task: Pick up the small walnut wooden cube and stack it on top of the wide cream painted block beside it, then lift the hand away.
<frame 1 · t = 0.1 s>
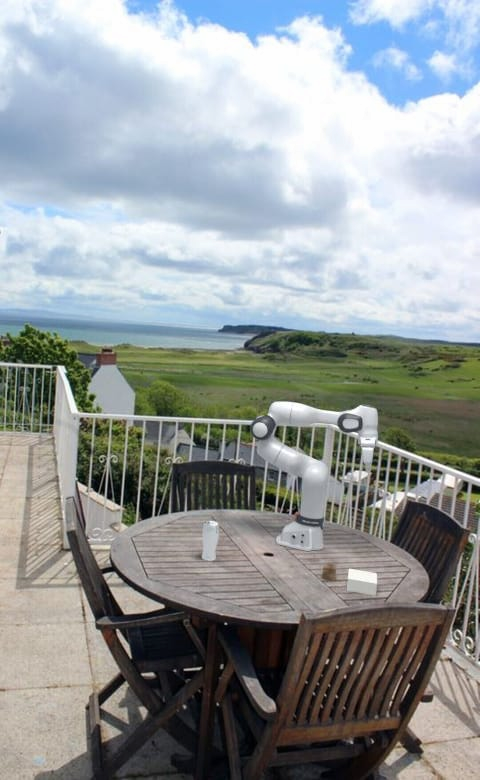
hand: (367, 470, 258), 39 cm above the table, fingers open, 8 cm apart
walnut cube: (328, 578, 228), on the table
base block: (361, 588, 222), on the table
white cylinder: (208, 558, 237), on the table
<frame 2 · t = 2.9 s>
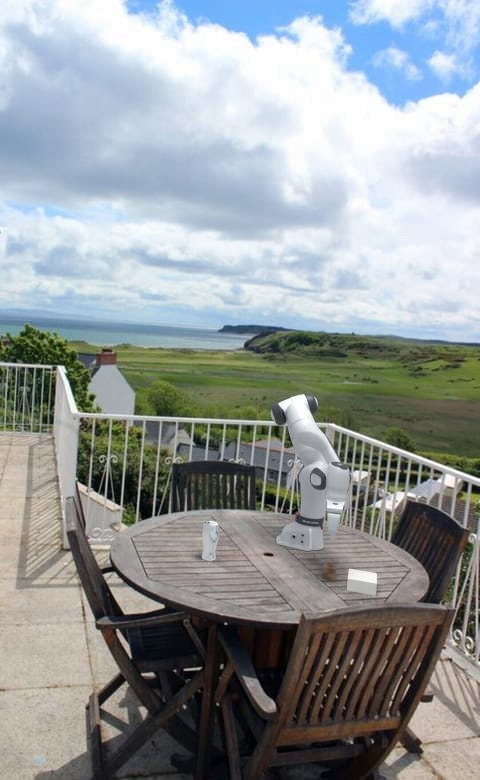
hand: (332, 537, 227), 17 cm above the table, fingers open, 8 cm apart
nothing on the table moved.
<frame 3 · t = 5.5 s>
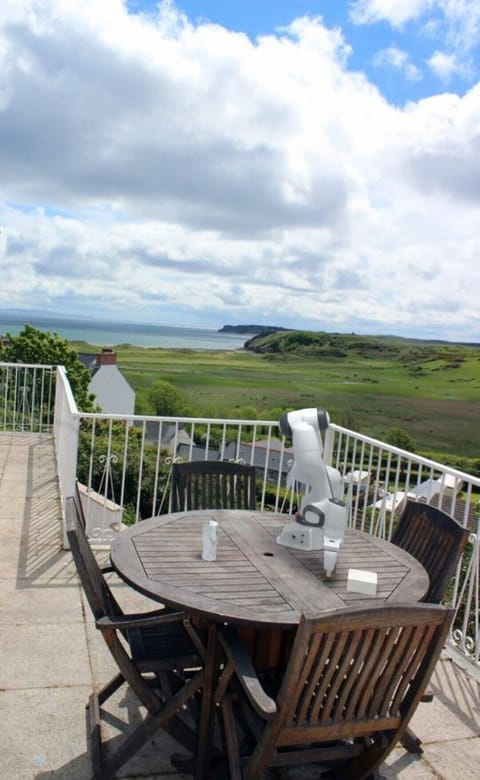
hand: (329, 573, 228), 2 cm above the table, fingers closed on walnut cube, 5 cm apart
walnut cube: (328, 577, 228), on the table, touching gripper
everything else where it was.
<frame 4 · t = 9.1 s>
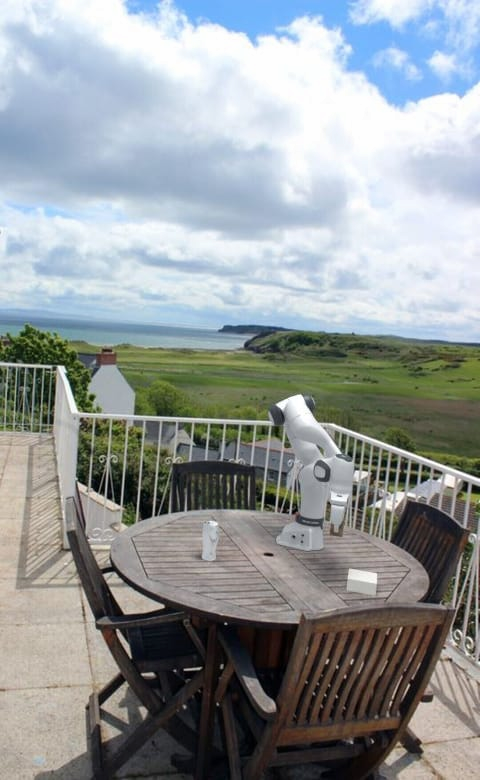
hand: (336, 529, 226), 20 cm above the table, fingers closed on walnut cube, 5 cm apart
walnut cube: (336, 534, 226), point 18 cm above the table, touching gripper
everything else where it was.
when the fingers open (8 cm above the table, at t = 13.1 s): walnut cube drops 2 cm, resting on base block.
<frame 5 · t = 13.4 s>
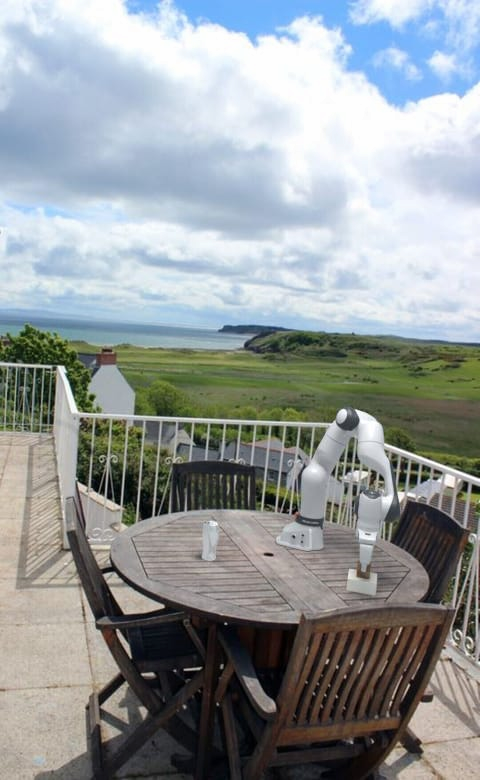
hand: (363, 567, 221), 8 cm above the table, fingers open, 7 cm apart
walnut cube: (362, 575, 221), point 5 cm above the table, touching base block
base block: (361, 588, 222), on the table, touching walnut cube
everything else where it was.
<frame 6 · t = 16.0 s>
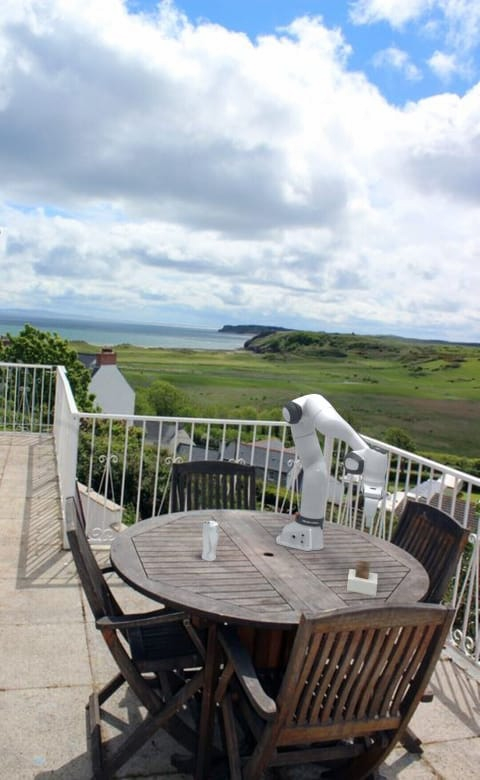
hand: (367, 522, 223), 25 cm above the table, fingers open, 8 cm apart
nothing on the table moved.
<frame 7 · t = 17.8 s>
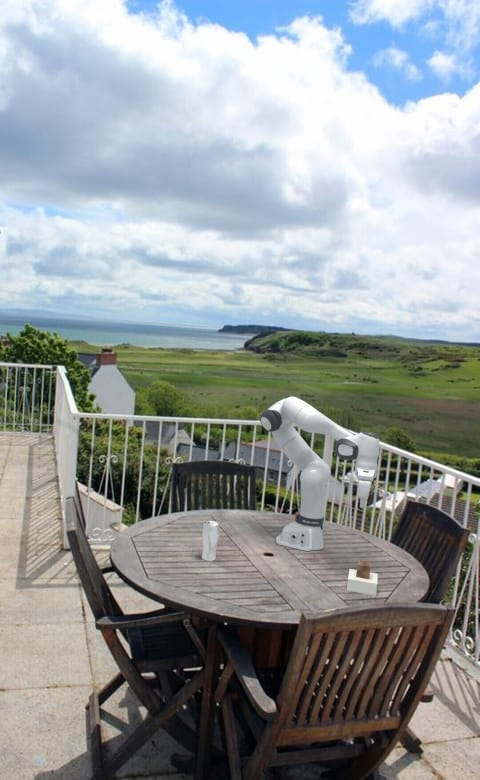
hand: (362, 504, 234), 29 cm above the table, fingers open, 8 cm apart
nothing on the table moved.
at the end: walnut cube inside the target area on the base block (0.2 cm from its centre), point 5.0 cm above the base block's base; walnut cube touching base block; the gripper is holding nothing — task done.
